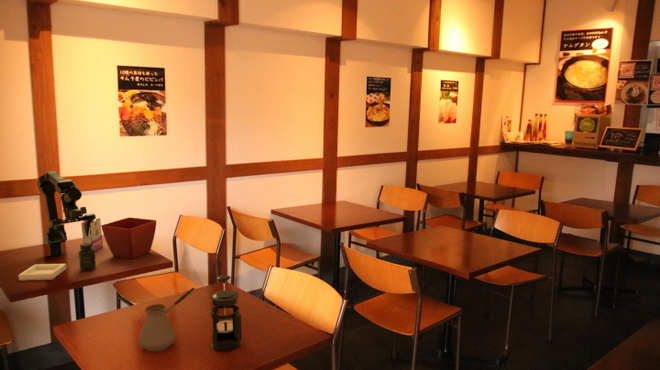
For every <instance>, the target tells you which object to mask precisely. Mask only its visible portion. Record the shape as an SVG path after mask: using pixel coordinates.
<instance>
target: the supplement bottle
mask: <svg viewBox="0 0 660 370" xmlns="http://www.w3.org/2000/svg"><path fill="white" fill-rule="evenodd" d="M79 247H80V248H79V249H80V250H79V251H78V253H77V254H78V262H79V271H81V272H90V271H93V270H96V268H97V263H96V252H95V251H94V250H93V249H92V244H91V243H84V244H83V243H81V244H80V246H79Z"/></svg>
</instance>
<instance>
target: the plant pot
mask: <svg viewBox="0 0 660 370" xmlns="http://www.w3.org/2000/svg"><path fill="white" fill-rule="evenodd" d="M156 229H157V220H156V219H148V218H147V219H146V218H139V217H124V218H122V219H118V220H115V221H112V222H108V223H105V224H101V232H102V233H103V234H102V235H103V236H104V239H105V241H106V244H107V247H108V249H109V250H110V252H111V254H112V255H113V257H117V258H123V259H126V260H127V259H129V260H133V259H136V258H139V257H141V256H144V255H147V254H149V253H151V249H152V246H153V243H154V239H155V236H156V235H155V234H156Z"/></svg>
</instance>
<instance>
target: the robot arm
mask: <svg viewBox="0 0 660 370" xmlns="http://www.w3.org/2000/svg"><path fill="white" fill-rule="evenodd" d="M36 187H37V188H38V190H39V192H40V194H41V195H42V196H43V197H44V203H45V209H46V216H47V220H48V225H47V228H46V230H45V232H46V233H45V235H44V239H43V240H44V244H45V245H47V246H48V247H49V253H48V254H47V255H46V256H47V257H61V256H62V255H64V254H65V253H66V250H65V251H64V250H63V243H66V241H68V237H67V232H66V230H65V224H72V223H77V222H78V223H79V222H85V223H83V224H84V229H85V233H86V236H87V237H88V234H89V227H90V224H91V222H93V220H95V219H96V218H97V217H96V214H95V213H93V212H92V213H88V212H87V206H80V208H79V206H78V205H77V202H78V201H79V200H80V199H81V198H82V195H83V194H82V192H81V190H80V189H79V187H78V186H77V185H76V184H75V182H74V181H73V180H72V179H70V178H64V177H62V176H61V175H60V174H59V173H58V172H57V171H54V170H52V171H45V172H44V173H43V174H42V175H41V176H39V177H38V179H37V181H36ZM56 192H57V193H58V194H60V198H59V199H60V202H61V205H62V213H63V214H64V219H62V218H59V214H58V207H57V203H56V196H55V195H56Z"/></svg>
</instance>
